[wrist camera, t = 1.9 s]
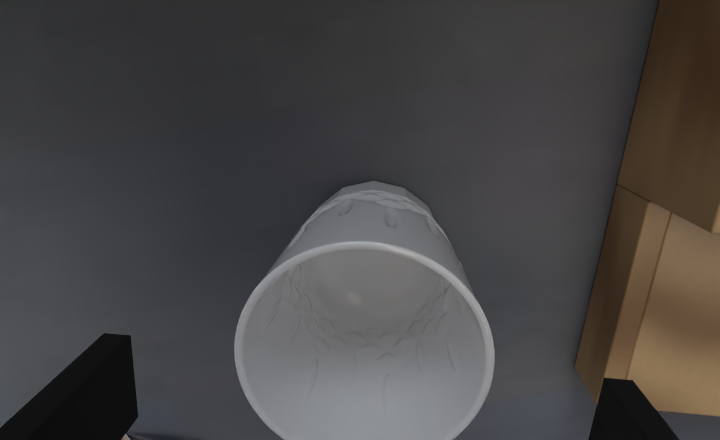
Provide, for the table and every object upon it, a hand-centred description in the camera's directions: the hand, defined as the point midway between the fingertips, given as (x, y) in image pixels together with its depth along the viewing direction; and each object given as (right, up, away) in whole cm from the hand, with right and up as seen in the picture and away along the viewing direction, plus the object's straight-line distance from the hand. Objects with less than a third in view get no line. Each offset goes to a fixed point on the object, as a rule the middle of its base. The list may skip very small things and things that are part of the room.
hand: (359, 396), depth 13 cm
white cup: (+1, +4, +11) cm, 11 cm away
